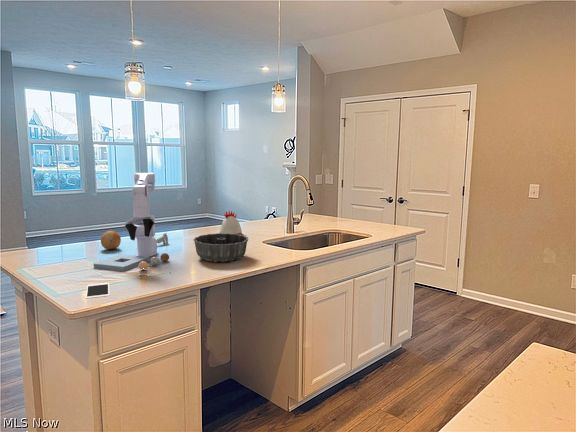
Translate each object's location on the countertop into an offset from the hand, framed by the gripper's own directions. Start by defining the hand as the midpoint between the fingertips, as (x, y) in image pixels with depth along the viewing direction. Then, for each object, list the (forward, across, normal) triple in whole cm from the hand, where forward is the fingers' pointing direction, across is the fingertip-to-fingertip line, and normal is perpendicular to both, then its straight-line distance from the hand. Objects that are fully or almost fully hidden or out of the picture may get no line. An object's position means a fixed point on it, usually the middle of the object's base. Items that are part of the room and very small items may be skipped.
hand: (139, 238), depth 185 cm
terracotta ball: (+13, +1, +2) cm, 13 cm away
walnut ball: (+6, +2, +16) cm, 17 cm away
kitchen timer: (-23, +5, +81) cm, 84 cm away
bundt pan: (+7, +23, +32) cm, 40 cm away
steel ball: (+9, +1, +9) cm, 13 cm away
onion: (-8, -38, +25) cm, 46 cm away
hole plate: (+8, -14, +6) cm, 17 cm away
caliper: (-9, -21, +38) cm, 44 cm away
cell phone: (+27, 0, -22) cm, 35 cm away
